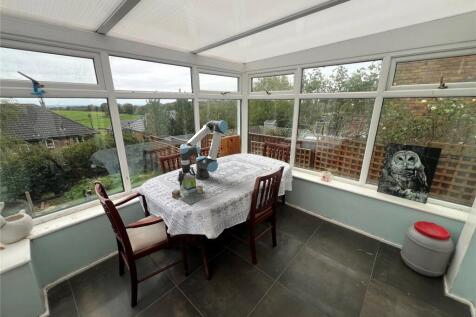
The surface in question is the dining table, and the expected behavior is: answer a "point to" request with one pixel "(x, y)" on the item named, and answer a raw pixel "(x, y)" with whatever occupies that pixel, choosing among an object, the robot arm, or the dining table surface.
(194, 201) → the slate mat
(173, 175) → the dining table surface
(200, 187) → the beech cylinder
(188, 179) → the tea box
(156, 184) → the dining table surface
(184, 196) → the sage cube
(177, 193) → the walnut block
